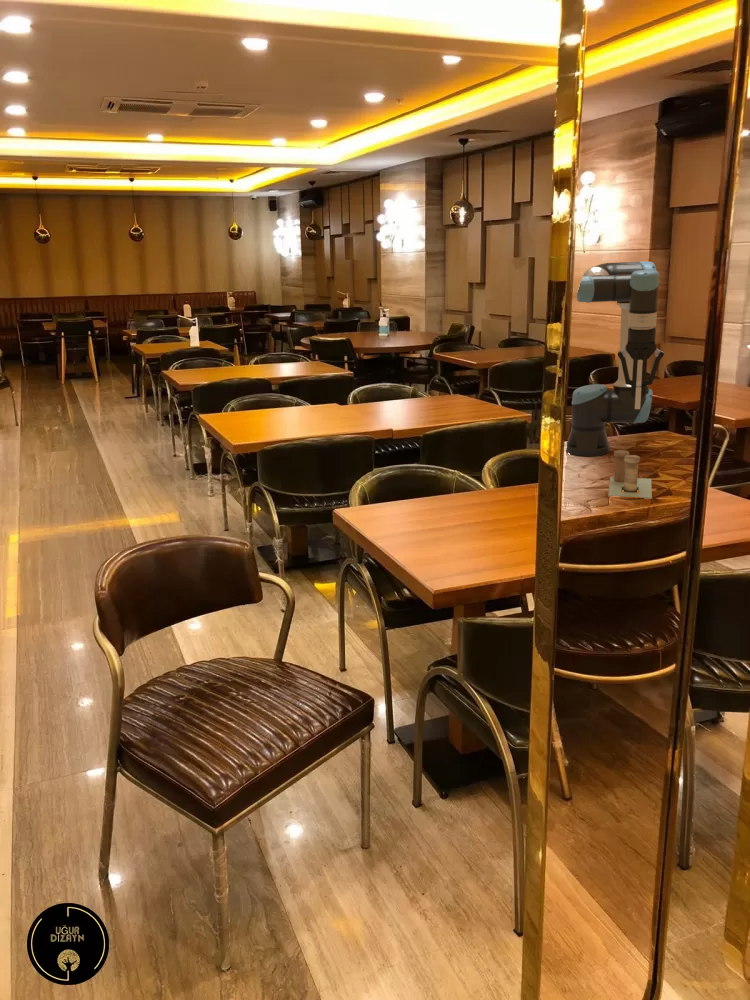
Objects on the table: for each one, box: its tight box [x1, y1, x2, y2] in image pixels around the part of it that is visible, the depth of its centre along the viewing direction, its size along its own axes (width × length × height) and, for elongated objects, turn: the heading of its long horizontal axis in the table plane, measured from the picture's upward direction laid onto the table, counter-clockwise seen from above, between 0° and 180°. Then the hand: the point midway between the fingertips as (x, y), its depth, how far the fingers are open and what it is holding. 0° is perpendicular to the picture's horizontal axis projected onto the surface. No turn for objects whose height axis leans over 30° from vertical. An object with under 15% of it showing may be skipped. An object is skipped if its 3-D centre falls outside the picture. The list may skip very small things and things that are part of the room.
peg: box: [624, 454, 641, 493], centre depth 239 cm, size 4×4×14 cm
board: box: [607, 449, 653, 500], centre depth 242 cm, size 17×12×13 cm
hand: (637, 407), depth 239 cm, fingers closed
